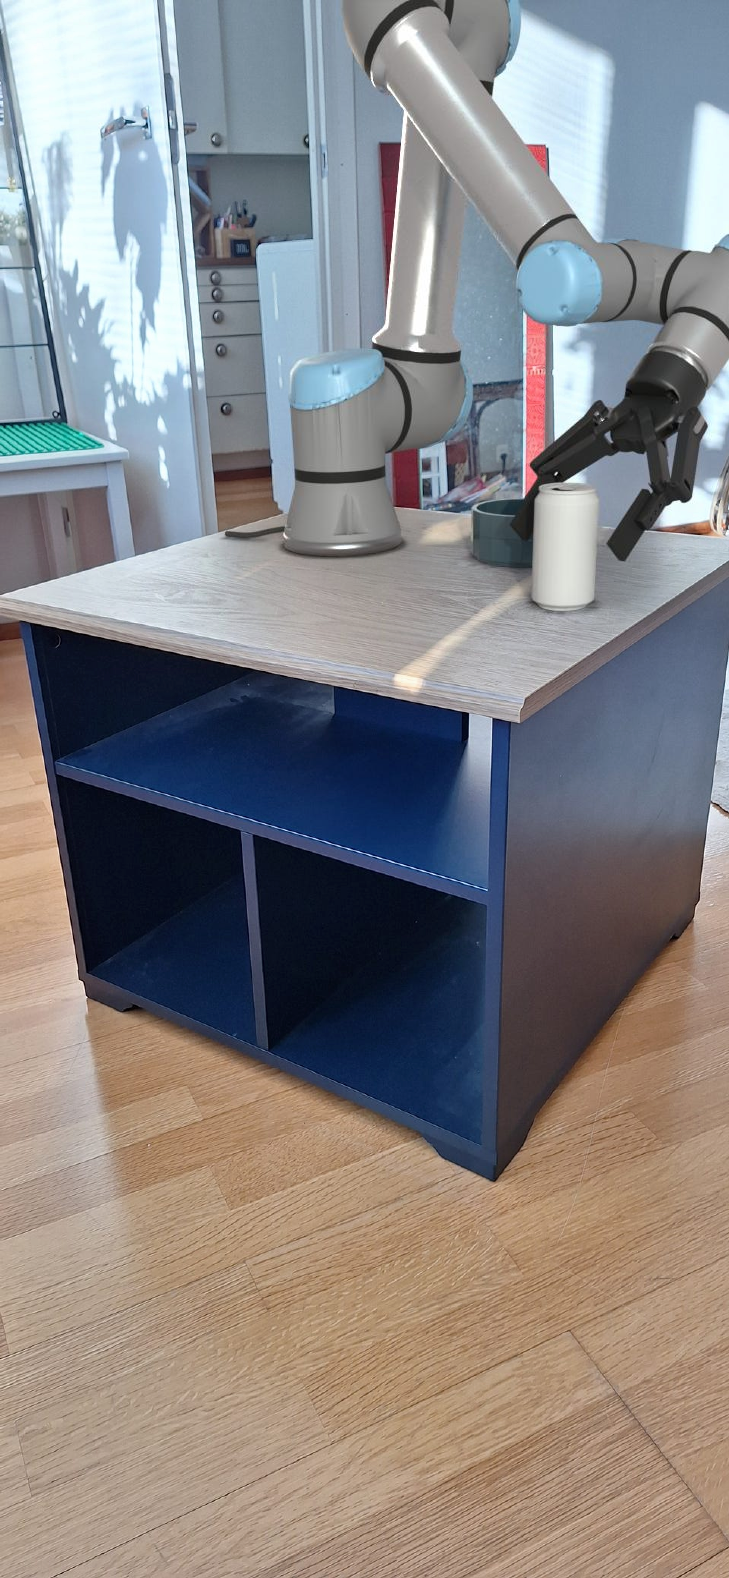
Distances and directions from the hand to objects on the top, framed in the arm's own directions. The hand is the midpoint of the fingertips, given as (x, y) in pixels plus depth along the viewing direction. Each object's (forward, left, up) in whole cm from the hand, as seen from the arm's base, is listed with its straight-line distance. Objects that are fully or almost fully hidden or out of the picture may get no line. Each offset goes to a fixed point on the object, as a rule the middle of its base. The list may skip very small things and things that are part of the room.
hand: (564, 542), depth 112 cm
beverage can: (0, 0, -7) cm, 7 cm away
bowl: (-14, +18, -6) cm, 24 cm away
